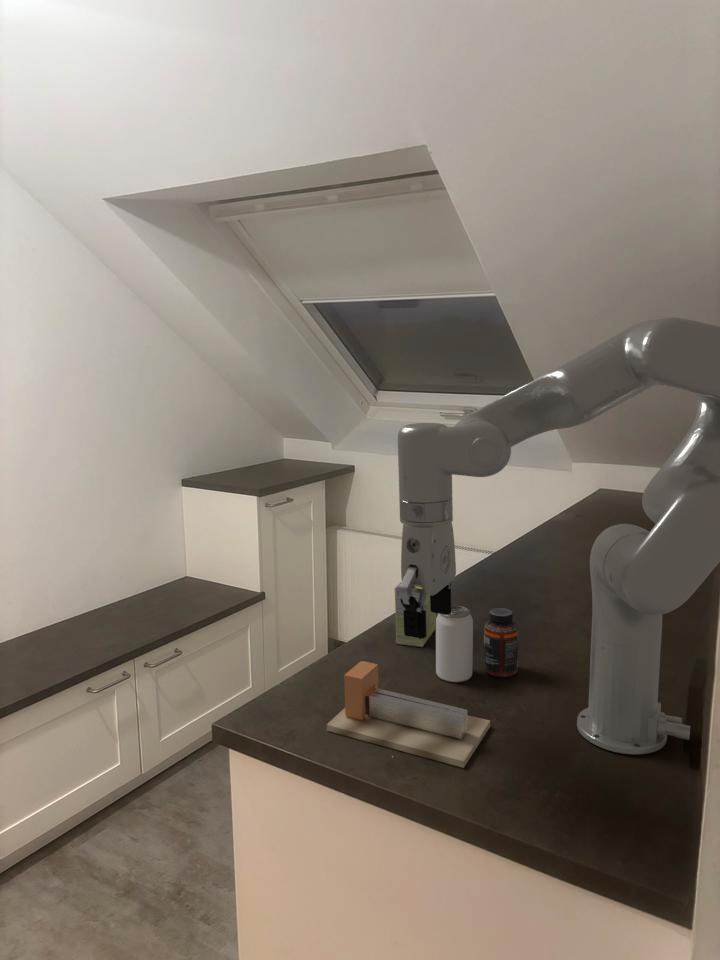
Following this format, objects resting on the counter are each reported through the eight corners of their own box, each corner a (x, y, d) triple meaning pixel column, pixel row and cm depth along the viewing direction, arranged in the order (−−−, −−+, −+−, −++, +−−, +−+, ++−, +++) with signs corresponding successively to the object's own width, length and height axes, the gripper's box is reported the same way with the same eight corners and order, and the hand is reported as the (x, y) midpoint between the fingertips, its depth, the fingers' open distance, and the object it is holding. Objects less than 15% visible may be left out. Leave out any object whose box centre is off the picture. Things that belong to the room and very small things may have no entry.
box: (410, 625, 145) (409, 571, 143) (436, 628, 143) (436, 574, 141) (394, 644, 136) (394, 587, 134) (422, 648, 134) (422, 590, 132)
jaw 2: (373, 711, 108) (373, 691, 107) (377, 708, 109) (377, 688, 108) (464, 734, 100) (464, 713, 100) (467, 731, 101) (467, 709, 101)
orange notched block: (345, 715, 107) (344, 675, 105) (362, 699, 112) (361, 660, 110) (362, 720, 105) (361, 679, 104) (378, 703, 110) (377, 664, 109)
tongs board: (326, 730, 105) (326, 709, 104) (363, 696, 115) (362, 676, 115) (463, 768, 95) (463, 744, 94) (490, 726, 105) (490, 705, 104)
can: (428, 675, 122) (428, 611, 120) (451, 663, 127) (451, 602, 125) (457, 687, 118) (457, 621, 116) (479, 674, 122) (480, 610, 120)
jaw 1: (369, 716, 106) (369, 695, 106) (372, 712, 107) (372, 692, 107) (461, 739, 99) (461, 717, 99) (464, 735, 100) (464, 713, 100)
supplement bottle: (522, 668, 124) (524, 609, 122) (510, 681, 119) (511, 620, 117) (491, 661, 127) (492, 603, 125) (478, 673, 123) (479, 613, 121)
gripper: (427, 526, 88) (429, 651, 91) (471, 500, 103) (472, 608, 106) (375, 522, 92) (379, 642, 95) (425, 497, 107) (427, 601, 110)
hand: (428, 624), depth 100 cm, fingers open, 9 cm apart
